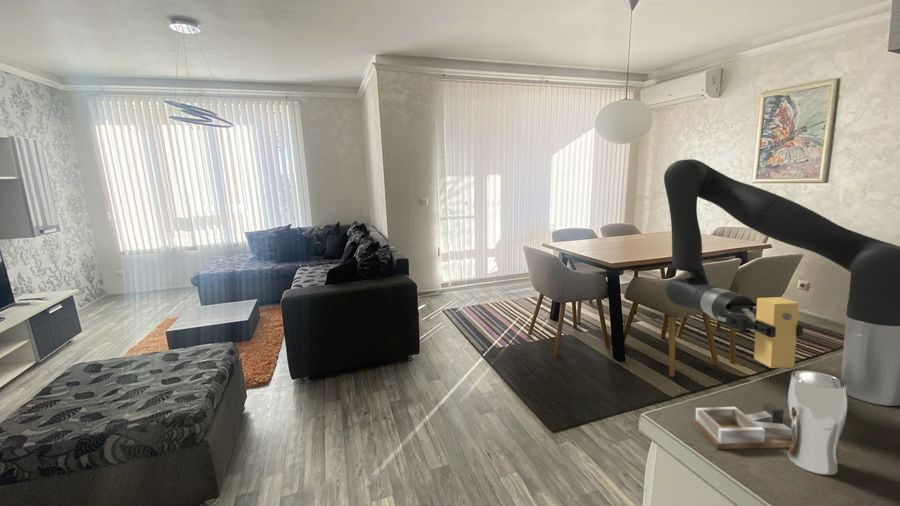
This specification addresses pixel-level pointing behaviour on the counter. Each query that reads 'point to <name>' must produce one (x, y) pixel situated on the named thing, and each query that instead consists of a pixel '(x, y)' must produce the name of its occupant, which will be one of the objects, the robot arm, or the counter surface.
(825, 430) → the beer glass
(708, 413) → the coupling board
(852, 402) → the counter surface
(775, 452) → the counter surface
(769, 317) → the yellow knobbed block
